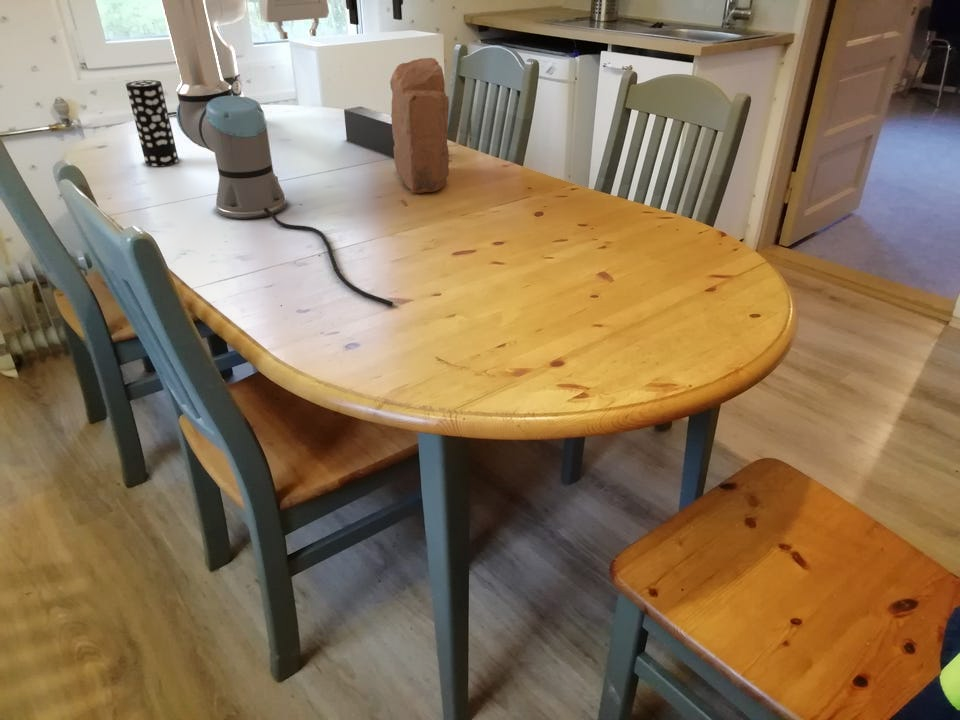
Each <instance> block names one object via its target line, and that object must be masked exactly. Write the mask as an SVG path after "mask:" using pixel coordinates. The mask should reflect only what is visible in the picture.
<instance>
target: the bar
mask: <svg viewBox="0 0 960 720" xmlns="http://www.w3.org/2000/svg"><path fill="white" fill-rule="evenodd" d="M343 114H344V115H343V117H344V126H345V137H346V141H347V143H351V144H355V145H357V146H359V147H362V148H366V149H368V150H371V151H374V152H377V153H379V154H382V155H385V156H388V157H390V158H393V159H394V149H393V148H394V145H395V142H394V139H393V132H392V120H391V114H387V113H383V112H381V111H377V110H373V109H370V108H366V107H364V106H356V107H349V108H345V109H343Z"/></svg>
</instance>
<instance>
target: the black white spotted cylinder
mask: <svg viewBox="0 0 960 720" xmlns="http://www.w3.org/2000/svg"><path fill="white" fill-rule="evenodd" d="M125 87H126V91H127V95H128V99H129V103H130V107H131V110H132V115H133V118H134V122H135V123H134V124H135V127H136V130H137V134H138V139H139V143H140V146H141V150H142V155H143V158H144V163H145V164H146V165H147V166H151V167H164V166H170V165H174V164H176V163H178V162H179V155H178V150H177V146H176V142H175V137H174V133H173V128H172V125H171V121H170V115H168V113H169V111H168V107H167V103H166V98H165V93H164V89H163V84H162V81H161V80H155V79H154V80H153V79H151V80H150V79H145V80H144V79H141V80H134V81H130V82H129V81H128V82H127V83H126V84H125Z"/></svg>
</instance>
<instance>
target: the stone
mask: <svg viewBox="0 0 960 720" xmlns="http://www.w3.org/2000/svg"><path fill="white" fill-rule="evenodd" d="M389 83H390V89H391V93H392V97H391V113H390V115H391V120H392V132H393V139H394V142H395V145H394V148H393V149H394V158H393V159H394V166H395V170H396V172H397V173H398V175H399V177H400V178H401V180H402V181H403V183H404V184H405V186H406V187H407V188H408V189H410V191H411V192H412V193H413V194H423V193H431V192H434V193H435V192H437V191H439V190H440V189H441V188H443V187H446V185H447V182H448V181H447V179H448V177H449V175H450V173H449V172H450V169H449V166H450V162H449V161H450V154H449V146H448V127H449V110H450V102H449V101H450V99H449V96H448V95H447V94H446V91H445V90H446V83H445V75H444V72H443V68H442V66H441V65H440V64H439V61H437V59H436V58H434V57H421V58H418V59H413V60H411V61H409V62H402V63H399V64H398V65H396V68H395V69H394V71H393V73H392V74H391V77H390V82H389Z"/></svg>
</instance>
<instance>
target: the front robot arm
mask: <svg viewBox="0 0 960 720" xmlns="http://www.w3.org/2000/svg"><path fill="white" fill-rule="evenodd" d="M391 1H392V17H393V20H398V21H401V20H402V21H403V9H402V5H403V4H404V0H391ZM160 3H161V7H162V11H163V14H164V18H165V23H166V27H167V32H168V35H169V39H170V42H171V46H172V50H173V54H174V57H175V58H174V59H175V61H176V62H175V63H176V66H177V70H178V74H179V78H180V84H179V85H178V87H177V89H176V94H177V98H178V105H177V106H176V111H175V112H176V114H175V115H176V121H177V124H178V127H179V129H180V130H181V132H182V133H183V134H184V136H185V137H186V138H188V139H189V140H190V141H191V142H192V143H193V144H195V145H197V146H199V147H200V148H202V149H203V148H204V149H206V150H208V151H211V152H213V153H214V156H215V161H216V167H217V169H218V170H217V172H218V185H217V193H216V201H215V206H216V210H217V213H218V214H219V215H221V216H223V217H225V218H229V219H236V220H253V219H260V218H261V219H262V218H265V217H266V218H267V217H271V219H272V220H273V221H274V222H275V223H276V224H277V225H279V226H281V227H283V228H287V229H294V230H295V229H296V230H306V231H311V232H313V233H315V234H317V235H318V236H320V238H321V239H322V242H323V243H324V245H325V247H326V249H327V253H328V256H329V258H330V262H331V265H332V268H333V271H334V273H335V274H336V276H337V277H338V278H339V279H340V281H341V282H342V283H343V284H344V285H345V286H346V287H348V288H349V289H351V291H353V292H355V293H356V294H359V295H361V296H362V297H365V298H366V299H367V298H368V299H370V300H372V301H374V302H375V301H376V302H378V303H382V304H385V305H387V306H389V307H392V306H393V305H394V303H393V301H391V300H388V299H386V298H383V297H380V296H377V295H373V294H371V293H368V292H367V291H363V290H362V289H360V288H358V287H356V286H355V285H354V284H352V283H351V282H349V280H347V279H346V278H345V276H344V275H343V274H342V273H341V271H340V269H339V268H338V264H337V262H336V259H335V256H334V253H333V249H332V246H331V245H330V243H329V241H328V239H327V237H326V236H325V234H324V233H323V232H322V231H321V230H319V229H317V228H315V227H312V226H309V225H301V224H299V225H298V224H289V223H285V222H283V221H280V220H279V219H278V217H277V216H276V214H278V213H280V212H282V211H283V210H285V209H286V207H287V199H286V194H285V193H284V191H283V189H282V187H281V184H280V182H279V178H278V176H277V175H275V172H274V167H273V160H272V154H271V147H270V140H269V133H268V127H267V126H268V121H267V117H266V115H265V110H264V107H263V106H262V104H261V103H260V102H259V101H258V100H255V99H254V98H250V97H247V96H244V97H240V96H233V93H232V89H231V85H230V84H229V83H227V82H226V81H225V80H223V78H222V76H221V72H220V67H219V63H218V58H217V54H216V49H215V45H214V40H213V36H212V31H211V27H210V22H209V18H208V13H207V9H206V4H205V0H160ZM345 8H346V10H348V16H349V17H348V18H349V24H350V25H356V26H357V25H360V20H359V9H358V0H345Z"/></svg>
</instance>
